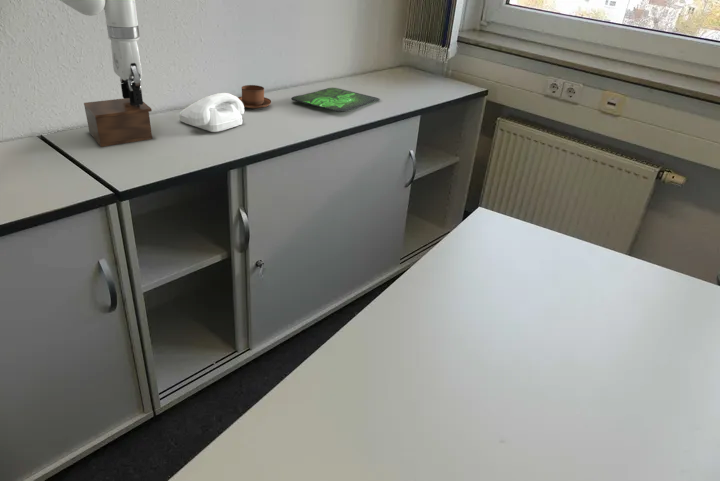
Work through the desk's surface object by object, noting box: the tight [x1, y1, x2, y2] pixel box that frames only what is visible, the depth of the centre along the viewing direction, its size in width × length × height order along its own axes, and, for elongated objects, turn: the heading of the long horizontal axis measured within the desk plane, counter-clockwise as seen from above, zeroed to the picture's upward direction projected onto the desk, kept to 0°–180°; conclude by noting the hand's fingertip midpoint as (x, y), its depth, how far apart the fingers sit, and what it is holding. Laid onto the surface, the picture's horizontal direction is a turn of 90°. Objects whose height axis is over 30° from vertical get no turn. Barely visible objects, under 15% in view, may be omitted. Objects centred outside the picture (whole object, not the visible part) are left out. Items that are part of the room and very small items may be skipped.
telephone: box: [179, 92, 245, 133], centre depth 163 cm, size 16×20×9 cm
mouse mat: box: [290, 87, 381, 113], centre depth 192 cm, size 27×22×1 cm
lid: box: [83, 84, 153, 118], centre depth 146 cm, size 14×12×6 cm
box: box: [84, 106, 153, 148], centre depth 149 cm, size 14×12×8 cm
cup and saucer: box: [237, 84, 272, 110], centre depth 180 cm, size 12×12×6 cm
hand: (132, 100), depth 149 cm, fingers closed on lid, 6 cm apart
